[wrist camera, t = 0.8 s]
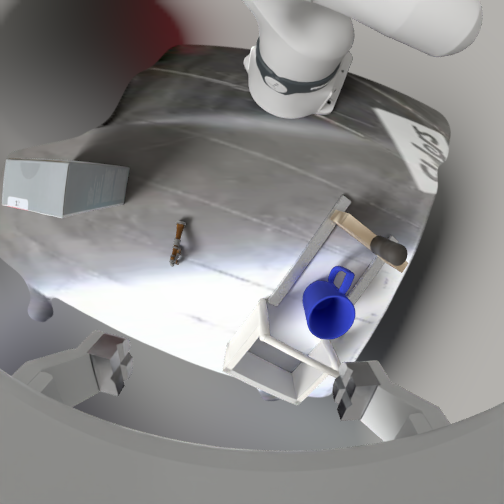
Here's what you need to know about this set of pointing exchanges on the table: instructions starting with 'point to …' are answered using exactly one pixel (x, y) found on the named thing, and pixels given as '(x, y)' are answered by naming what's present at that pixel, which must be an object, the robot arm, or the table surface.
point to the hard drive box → (62, 186)
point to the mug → (329, 306)
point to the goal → (270, 375)
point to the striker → (372, 240)
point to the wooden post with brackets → (177, 243)
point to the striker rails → (312, 250)
